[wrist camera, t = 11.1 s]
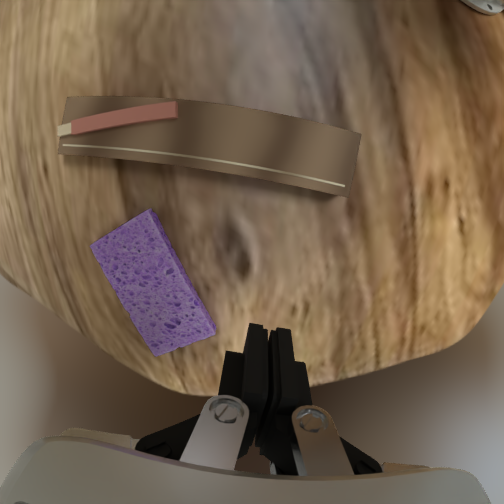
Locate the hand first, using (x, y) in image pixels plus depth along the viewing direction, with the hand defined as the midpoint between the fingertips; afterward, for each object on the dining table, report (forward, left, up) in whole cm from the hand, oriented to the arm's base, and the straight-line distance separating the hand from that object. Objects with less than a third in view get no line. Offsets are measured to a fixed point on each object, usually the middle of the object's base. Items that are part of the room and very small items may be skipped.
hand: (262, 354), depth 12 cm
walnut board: (+6, -9, -14) cm, 18 cm away
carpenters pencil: (+12, -9, -12) cm, 20 cm away
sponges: (+9, +5, -15) cm, 18 cm away
